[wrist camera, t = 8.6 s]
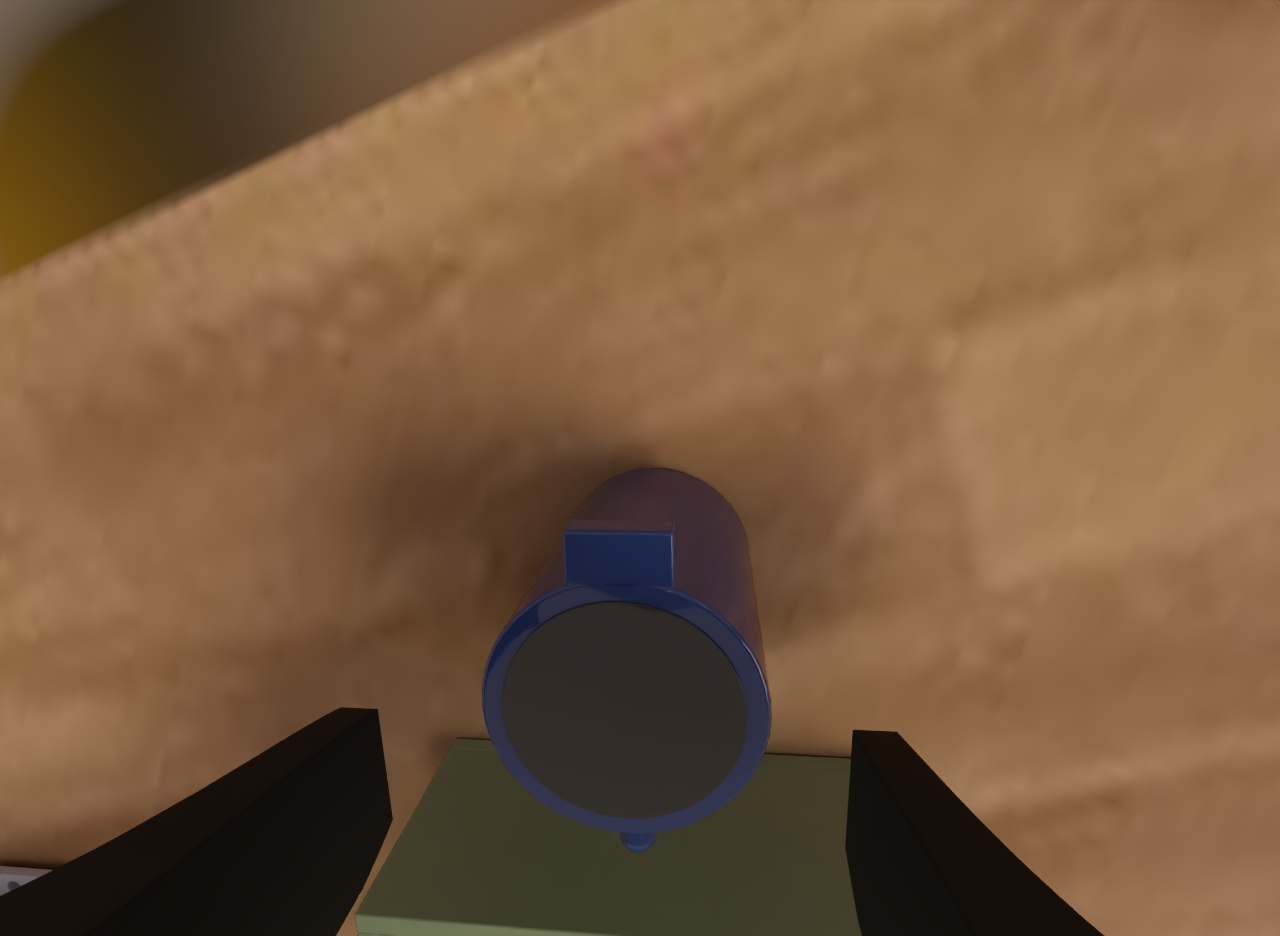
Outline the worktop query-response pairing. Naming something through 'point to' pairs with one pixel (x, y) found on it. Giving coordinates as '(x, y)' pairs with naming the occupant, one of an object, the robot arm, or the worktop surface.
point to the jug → (635, 662)
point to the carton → (617, 862)
